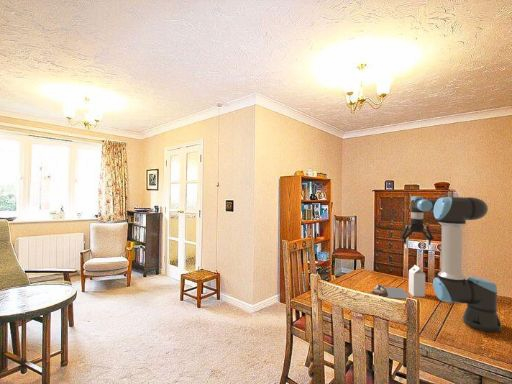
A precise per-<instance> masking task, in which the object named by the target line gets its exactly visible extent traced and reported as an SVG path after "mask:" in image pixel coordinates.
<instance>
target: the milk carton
mask: <svg viewBox="0 0 512 384" xmlns="http://www.w3.org/2000/svg"><path fill="white" fill-rule="evenodd" d="M408 294H409V295H410V296H411V297H412V296H413V297H419V298H425V297H426V273H425V272H424V271H422V270H421V268H420V267H419V266H418V265H416V264H414V265H413V266H412V267H411V268H410V269H409V270H408Z"/></svg>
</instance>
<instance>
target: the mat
mask: <svg viewBox="0 0 512 384" xmlns="http://www.w3.org/2000/svg"><path fill="white" fill-rule="evenodd" d="M385 287H386V286H385ZM386 290H387V293H388V297H389V298H388V299H395V300H396V299H397V300H398V299H399V300H407V299H406V298H407V297H411V295H410V294H409V292H407V291H406V290H405V289H404V288H401V287H390V286H389V287H386Z"/></svg>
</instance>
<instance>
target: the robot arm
mask: <svg viewBox="0 0 512 384" xmlns="http://www.w3.org/2000/svg"><path fill="white" fill-rule="evenodd" d="M488 210H489V207H488V204H487V203H486V202H485V201H484V200H483V199H480V198H478V197H469V196H467V197H463V196H461V197H459V196H453V197H452V196H444V197H439V198H437V199H424V197H423V196H422V195H421V196H420V195H419V196H417V195H416V196H415V195H412V196H411V197H410V225H408V224H406V225H405V227H404V229H403V232H402V233H401V235H400V239H403V244H404V249H405V250H408V238H409V237H410V235H412V234H413V233H420V232H421V234H422V235H423V236H424V237H425V238H426V240H425V244H426V245H425V248H426V250H427V251H429V250H430V245H431V242H432V240H435V239H434V236H433V234H432V232H431V231H430V229H429V225H424V212H432V213H433V216H434V218H435V219H436V220H437V221H438V224H439V225H440V226H441V254H440V255H441V262H440V263H441V264H440V265H441V266H440V268H441V269H440V270H441V271H439V272H438V273H437V277H434V278H433V281H432V286H433V290H434V294H435V296H436V297H437V299H438V300H440V301H442V302H443V303H444V302H446V303H451V304H452V303H455V304H466V308H465V311H464V313H463V315H462V321H463V323H464V324H465V325H467V326H469V327H471V328H473V329H476V330H479V331H483V332H488V333H489V332H490V333H499V332H501V331H502V323H501V320H500V318H499V315H498V312H497V311H498V310H497V309H498V288H497V284H496V283H495V282H493V281H491V280H488V279H485V278H482V277H477V276H471V275H469V276H467V277H466V276H465V275H463V273H462V270H463V269H462V268H463V267H462V265H463V264H462V263H463V259H462V258H463V251H462V250H463V247H462V246H463V244H462V243H463V227H464V226H465V225H467V224H466V221H476V220H480V219H482V218H484V217H485V216H486V215H487V214H488V212H489V211H488ZM409 229H410V230H409ZM424 229H425V231H426V232H425V231H424Z"/></svg>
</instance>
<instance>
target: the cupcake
mask: <svg viewBox="0 0 512 384" xmlns="http://www.w3.org/2000/svg"><path fill="white" fill-rule="evenodd" d="M371 294H375V295H379V296H383V297H388V293H387V290H386V286H385V285H382V284H381V285H380V284H376V286H375V287H374V288H372V291H371V292H370V295H371Z"/></svg>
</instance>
